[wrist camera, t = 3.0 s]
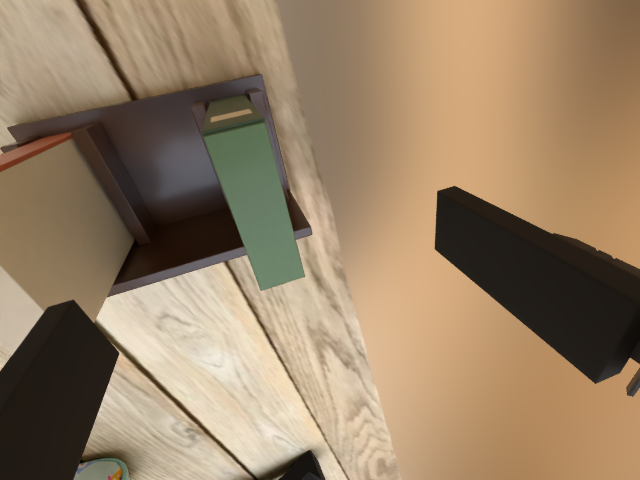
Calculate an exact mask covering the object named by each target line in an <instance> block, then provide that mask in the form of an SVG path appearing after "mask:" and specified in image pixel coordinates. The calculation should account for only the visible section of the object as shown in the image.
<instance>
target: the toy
mask: <svg viewBox="0 0 640 480" xmlns="http://www.w3.org/2000/svg"><path fill="white" fill-rule="evenodd" d="M278 480H325V477H324V475H323V472H322V470H321V467H320V465H319V462H318V460H317V458H316V457H315V456H314V454H313V453H312V452H311V451H308V452H307V453H305V454H304V455H302V457H301V458H300V459H299V460H298V461H297V462H296V463H295V464H294V465H293V466H292V467H291V468H290V469H289V470H288V471H287V472H286V473H285V474H284V475H283V476H282V477H281V478H280V479H278Z"/></svg>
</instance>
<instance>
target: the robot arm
mask: <svg viewBox="0 0 640 480" xmlns="http://www.w3.org/2000/svg"><path fill="white" fill-rule="evenodd" d="M435 250H436V251H438V252H439V253H440V254H441V255H442V256H444V257H445V258H446V259H447V260H448V261H450V262H451V263H452V264H453V265H454V266H455V267H457V268H458V269H459V270H460V271H461V272H463V273H464V274H465V275H466V276H467V277H469V278H470V279H471V280H472V281H473V282H475V283H476V284H477V285H478V286H479V287H481V288H482V289H483V290H484V291H485V292H487V293H488V294H489V295H490V296H491V297H492V298H494V299H495V300H496V301H497V302H498V303H500V304H501V305H502V306H503V307H504V308H506V309H507V310H508V311H509V312H510V313H512V314H513V315H514V316H515V317H516V318H518V319H519V320H520V321H521V322H522V323H523V324H525V325H526V326H527V327H528V328H529V329H531V330H532V331H533V332H534V333H535V334H537V335H538V336H539V337H540V338H541V339H543V340H544V341H545V342H546V343H547V344H549V345H550V346H551V347H552V348H553V349H555V350H556V351H557V352H558V353H559V354H561V355H562V356H563V357H564V358H565V359H566V360H568V361H569V362H570V363H571V364H573V365H574V366H575V367H576V368H577V369H578V370H580V371H581V372H582V373H583V374H584V375H586V376H587V377H588V378H589V379H590V380H592V381H593V382H594V383H595V384H596V383H599V382H601V381H603V380H605V379H607V378H610V377H612V376H614V375H616V374H619V373H620V372H621V370H622V369H623V367H624V366H625V364H626V363H627V361H628V359H629V358H632V359H633V360H635V361H636V362H637V363H639V364H640V269H638V268H636V267H634V266H632V265H630V264H627V263H625V262H623V261H621V260H619V259H617V258H615V259H613V258H612V256H611V255H609V254H607V253H604V252H602V251H600V250H599V251H597V250H596V248H594V247H592V246H590V245H587V244H585V243H583V242H581V241H579V240H577V239H574V238H570V237H567V236H563V235H559V234H555V233H554V234H551V233H549V232H547V231H545V230H543V229H541V228H539V227H537V226H535V225H533V224H531V223H529V222H527V221H525V220H523V219H521V218H519V217H517V216H515V215H513V214H511V213H509V212H507V211H505V210H503V209H500V208H499V207H497V206H495V205H492V204H490V203H488V202H486V201H484V200H482V199H480V198H478V197H476V196H474V195H472V194H470V193H468V192H466V191H464V190H462V189H460V188H458V187H456V186H453V187H450V188H447V189H443V190H440V191H438V192H437V212H436V233H435ZM118 356H119V352H118V351H117V350H116V349H115V347H114V346H113V345H112V344H111V343H110V341H109V340H108V339H107V338H106V337H105V336H104V334H103V333H102V332H101V331H100V330H99V328H98V327H97V326H96V325H95V324H94V323H93V321H92V320H91V319H90V318H89V317H88V316H87V314H86V313H85V312H84V311H83V310H82V308H81V307H80V306H79V305H78V304H77V303H76V301H75V300H74V299H73V300H70V301H66V302H63V303H59V304H56V305H53V306H49V307H47V309H46V310H45V311H44V313H43V314H42V315H41V317H40V318H39V320H38V321H37V322H36V324H35V325H34V326H33V328H32V329H31V330H30V332H29V333H28V334H27V336H26V337H25V338H24V340H23V341H22V343H21V344H20V345H19V347H18V348H17V349H16V351H15V352H14V353H13V355H12V356H11V357H10V359H9V360H8V362H7V363H6V364H5V366H4V367H3V368H2V370H1V371H0V480H74V477H75V474H76V471H77V469H78V466H79V463H80V460H81V458H82V455H83V452H84V449H85V447H86V444H87V441H88V438H89V436H90V433H91V430H92V427H93V425H94V422H95V419H96V416H97V414H98V411H99V408H100V405H101V403H102V400H103V397H104V394H105V392H106V389H107V386H108V383H109V381H110V378H111V375H112V372H113V370H114V367H115V364H116V361H117V359H118ZM639 388H640V368H639V370H638V371H637V373H636V374H635V375H634V377H633V378H632V380H631V381H630V383H629V384H628V386H627V388H626V389H627V395H629V396H632V397H633V396H634V395H635V393H636V392H637V391H638V389H639Z"/></svg>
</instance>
